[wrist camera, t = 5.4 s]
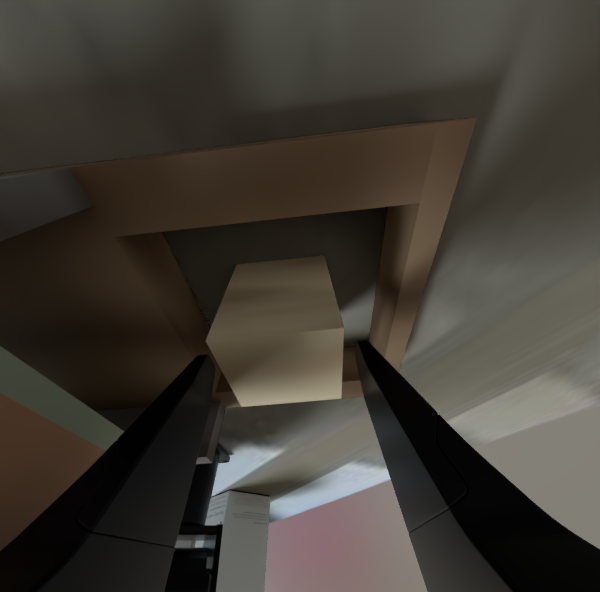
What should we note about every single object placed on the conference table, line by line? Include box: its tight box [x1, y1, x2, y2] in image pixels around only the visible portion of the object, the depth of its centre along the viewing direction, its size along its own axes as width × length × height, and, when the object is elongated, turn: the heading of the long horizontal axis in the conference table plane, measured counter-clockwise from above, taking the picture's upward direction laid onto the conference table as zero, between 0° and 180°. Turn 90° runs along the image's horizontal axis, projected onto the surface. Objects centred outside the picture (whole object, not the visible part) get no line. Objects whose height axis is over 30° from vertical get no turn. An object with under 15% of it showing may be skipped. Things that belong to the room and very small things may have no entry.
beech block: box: [206, 255, 344, 407], centre depth 10 cm, size 4×4×5 cm
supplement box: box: [195, 490, 270, 592], centre depth 35 cm, size 9×9×15 cm
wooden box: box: [0, 118, 477, 464], centre depth 10 cm, size 14×24×6 cm, turn 96°
